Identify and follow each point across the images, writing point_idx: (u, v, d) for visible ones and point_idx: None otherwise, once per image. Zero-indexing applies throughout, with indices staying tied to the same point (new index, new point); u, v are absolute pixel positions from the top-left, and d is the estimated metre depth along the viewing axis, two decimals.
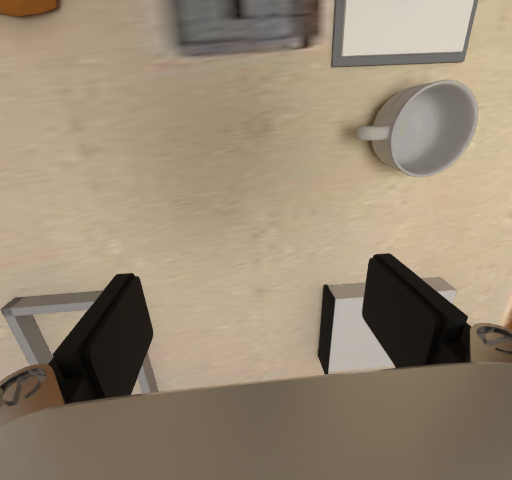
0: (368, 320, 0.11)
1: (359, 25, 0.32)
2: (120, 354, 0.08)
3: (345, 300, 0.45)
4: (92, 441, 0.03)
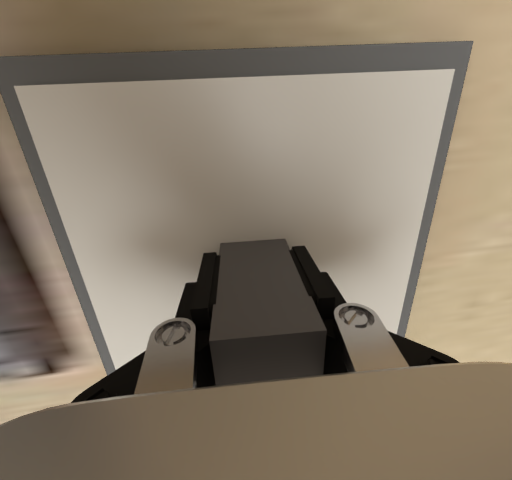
0: None
1: None
2: None
3: None
4: (92, 441, 0.03)
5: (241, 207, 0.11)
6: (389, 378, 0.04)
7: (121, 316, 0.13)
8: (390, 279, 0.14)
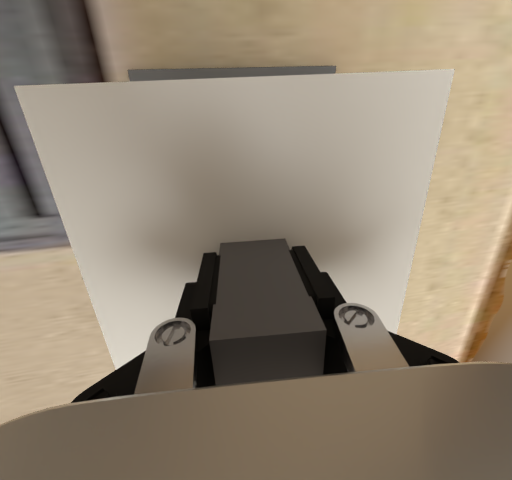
0: None
1: None
2: None
3: None
4: (92, 441, 0.03)
5: (242, 207, 0.12)
6: (389, 378, 0.04)
7: (120, 315, 0.13)
8: (390, 279, 0.14)
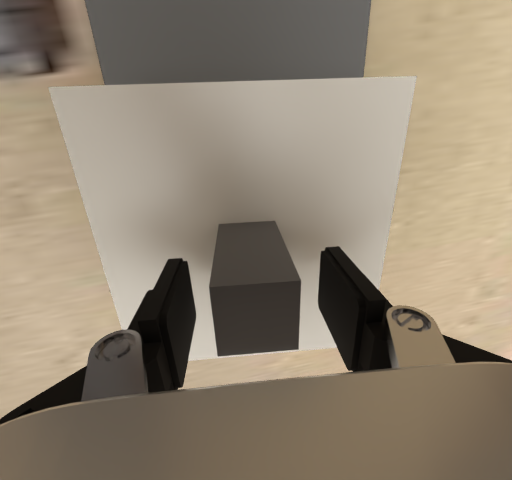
0: (321, 309, 0.12)
1: None
2: (180, 327, 0.09)
3: None
4: (92, 441, 0.03)
5: (237, 192, 0.13)
6: (389, 378, 0.04)
7: (130, 288, 0.15)
8: (368, 259, 0.16)
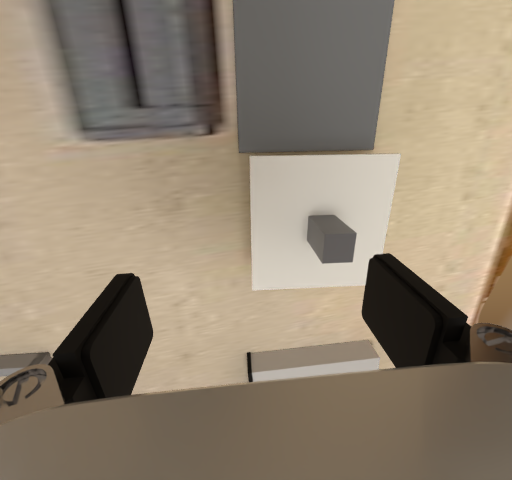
0: (368, 320, 0.11)
1: (267, 267, 0.32)
2: (120, 354, 0.08)
3: (263, 373, 0.44)
4: (92, 441, 0.03)
5: (319, 201, 0.29)
6: (389, 378, 0.04)
7: (261, 246, 0.31)
8: (377, 235, 0.31)
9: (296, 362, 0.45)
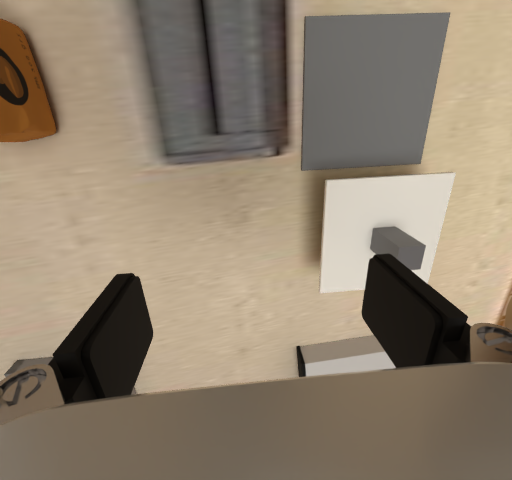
0: (368, 320, 0.11)
1: (334, 273, 0.37)
2: (120, 354, 0.08)
3: (314, 364, 0.49)
4: (92, 441, 0.03)
5: (382, 215, 0.34)
6: (389, 378, 0.04)
7: (330, 255, 0.35)
8: (431, 242, 0.36)
9: (343, 353, 0.50)
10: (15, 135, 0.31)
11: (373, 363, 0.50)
